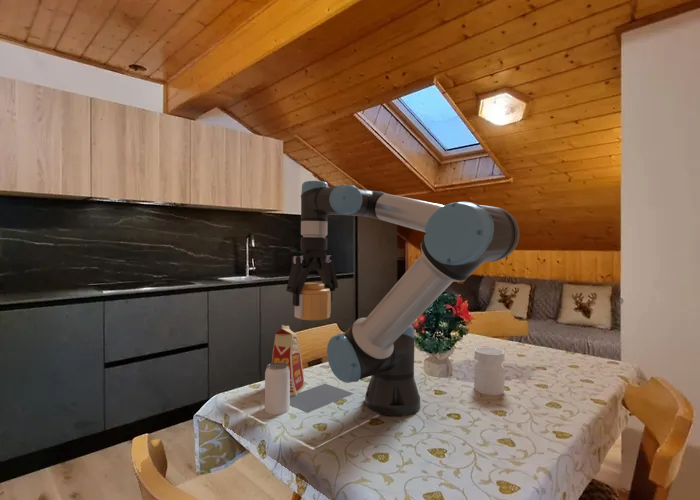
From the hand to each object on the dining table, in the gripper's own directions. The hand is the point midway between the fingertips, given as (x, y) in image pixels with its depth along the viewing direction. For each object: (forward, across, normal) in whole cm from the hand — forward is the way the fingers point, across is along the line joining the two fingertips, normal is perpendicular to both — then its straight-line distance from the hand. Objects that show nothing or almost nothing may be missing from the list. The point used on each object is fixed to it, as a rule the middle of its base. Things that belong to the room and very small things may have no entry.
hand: (313, 315), depth 112 cm
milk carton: (+24, +2, -10) cm, 26 cm away
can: (+24, +12, 0) cm, 27 cm away
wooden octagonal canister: (0, 0, 0) cm, 0 cm away
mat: (+24, -1, +1) cm, 24 cm away
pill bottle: (+24, -43, +32) cm, 59 cm away
